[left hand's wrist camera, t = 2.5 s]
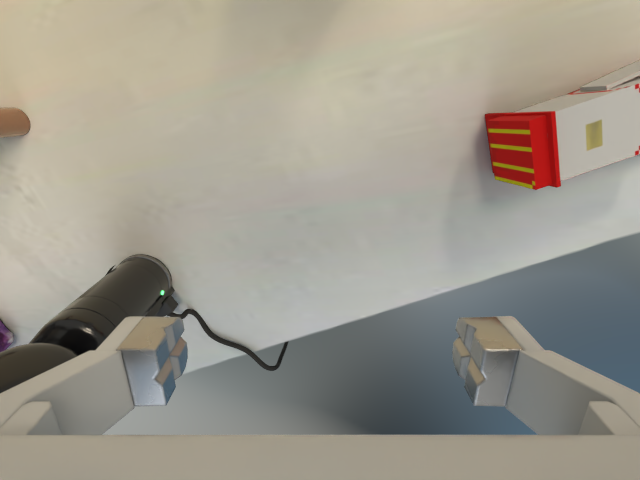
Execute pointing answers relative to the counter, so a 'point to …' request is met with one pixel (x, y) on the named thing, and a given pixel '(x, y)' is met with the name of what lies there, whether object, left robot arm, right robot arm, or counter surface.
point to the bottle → (13, 122)
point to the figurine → (5, 337)
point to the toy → (568, 132)
